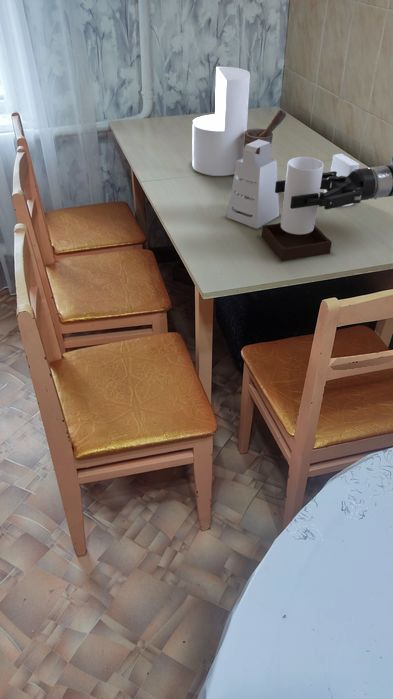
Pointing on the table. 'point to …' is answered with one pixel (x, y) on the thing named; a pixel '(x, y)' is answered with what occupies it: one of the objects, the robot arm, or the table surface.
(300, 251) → the tray
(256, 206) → the grater
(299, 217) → the cup
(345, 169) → the base with upright slab
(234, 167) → the cylinder
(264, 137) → the mortar and pestle
